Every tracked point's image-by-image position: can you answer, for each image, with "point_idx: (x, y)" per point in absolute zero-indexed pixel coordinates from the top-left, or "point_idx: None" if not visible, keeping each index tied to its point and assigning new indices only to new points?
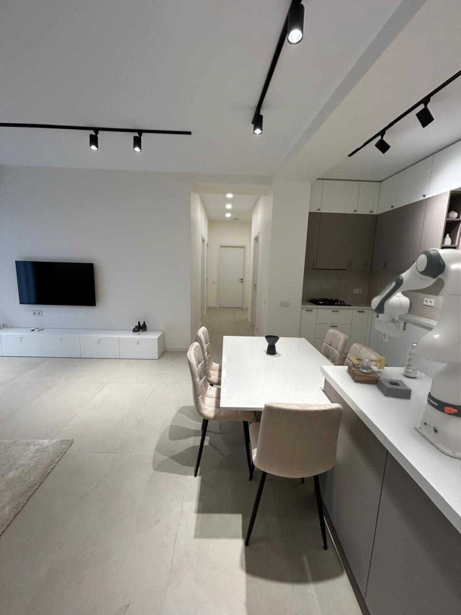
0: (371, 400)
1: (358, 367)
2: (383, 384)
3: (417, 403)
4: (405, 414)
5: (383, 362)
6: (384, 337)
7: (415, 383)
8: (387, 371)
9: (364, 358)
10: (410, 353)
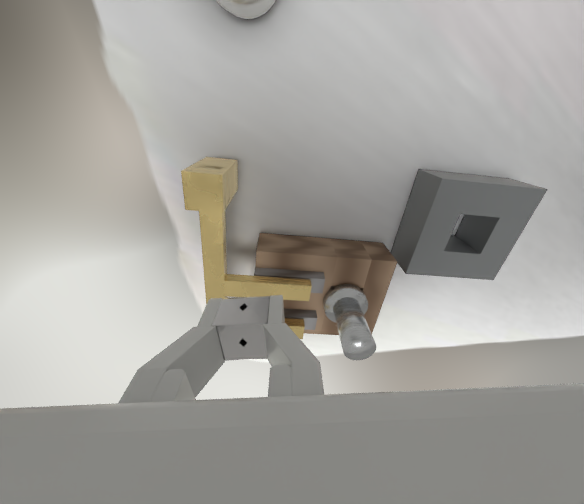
0: (481, 308)
1: (316, 320)
2: (460, 275)
3: (543, 167)
4: (579, 253)
5: (229, 178)
6: (220, 355)
7: (357, 14)
8: (197, 110)
9: (349, 355)
10: None
